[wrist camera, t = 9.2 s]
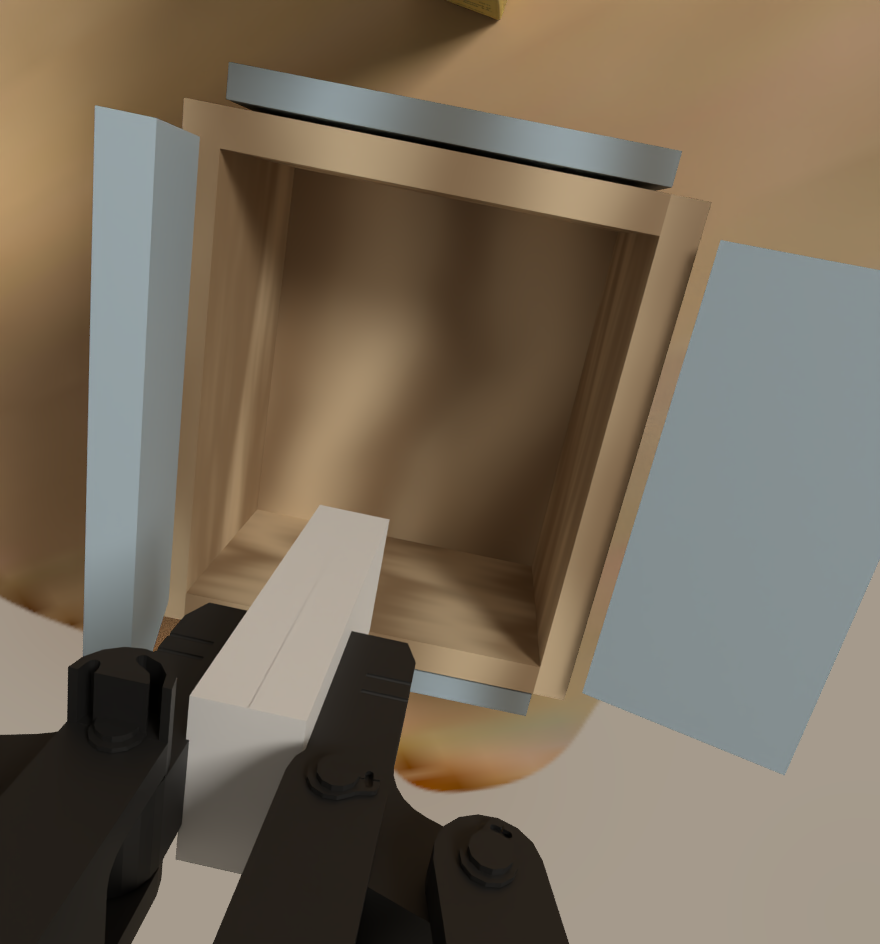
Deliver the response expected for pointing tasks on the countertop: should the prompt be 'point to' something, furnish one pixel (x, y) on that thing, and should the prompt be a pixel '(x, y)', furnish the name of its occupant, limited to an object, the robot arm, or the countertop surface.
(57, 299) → the countertop surface
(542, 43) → the countertop surface
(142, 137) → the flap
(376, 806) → the robot arm
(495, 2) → the candy box
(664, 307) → the carton
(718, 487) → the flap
